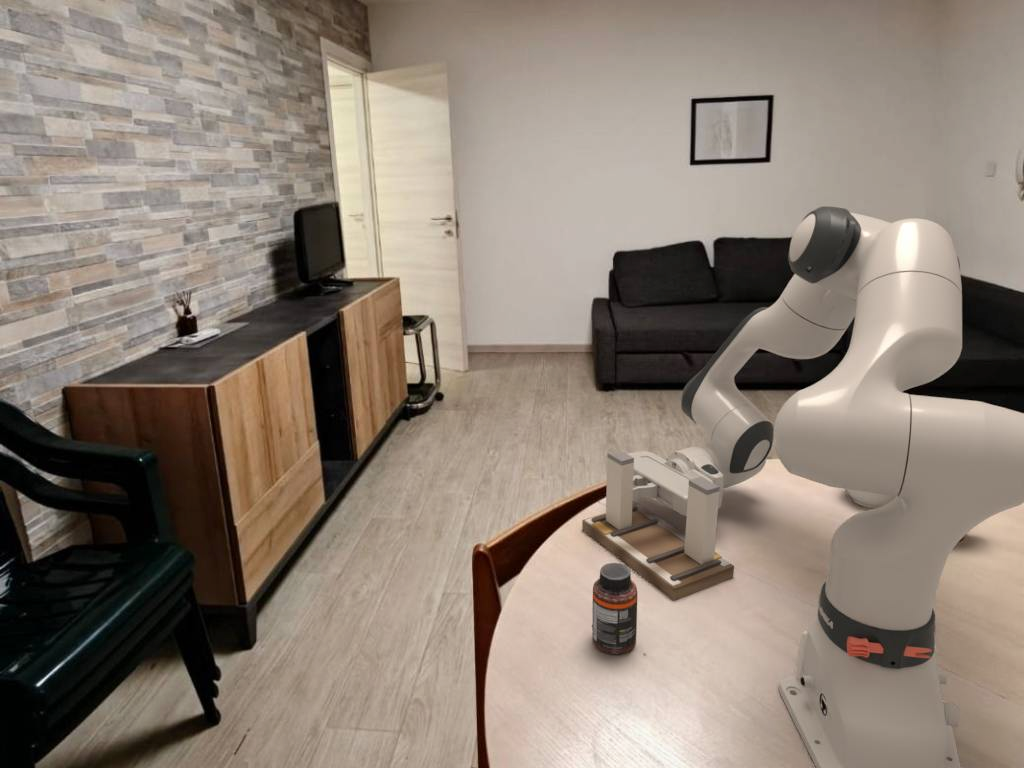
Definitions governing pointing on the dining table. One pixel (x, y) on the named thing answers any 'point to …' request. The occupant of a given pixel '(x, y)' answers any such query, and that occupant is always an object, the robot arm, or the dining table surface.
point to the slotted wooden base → (657, 553)
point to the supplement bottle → (614, 610)
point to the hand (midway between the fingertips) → (625, 491)
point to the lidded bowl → (869, 498)
